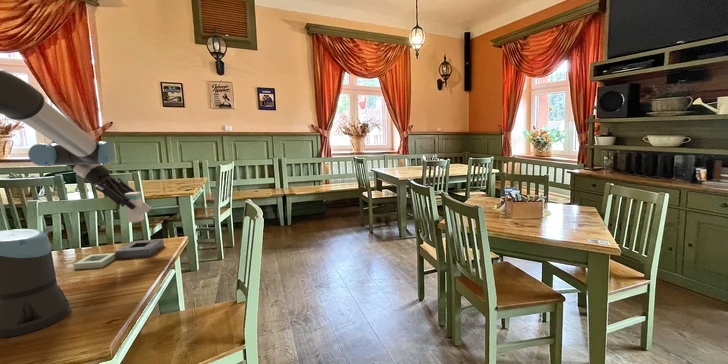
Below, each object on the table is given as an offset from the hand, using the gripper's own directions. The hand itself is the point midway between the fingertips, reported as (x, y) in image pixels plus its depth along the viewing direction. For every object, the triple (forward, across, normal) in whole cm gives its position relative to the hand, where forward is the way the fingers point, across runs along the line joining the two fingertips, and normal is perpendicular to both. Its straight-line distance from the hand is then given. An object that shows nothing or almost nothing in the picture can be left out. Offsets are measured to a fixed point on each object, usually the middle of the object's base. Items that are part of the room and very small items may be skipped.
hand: (145, 211), depth 134 cm
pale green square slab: (+1, +9, -22) cm, 24 cm away
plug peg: (0, 0, -5) cm, 5 cm away
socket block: (+9, 0, -14) cm, 17 cm away
